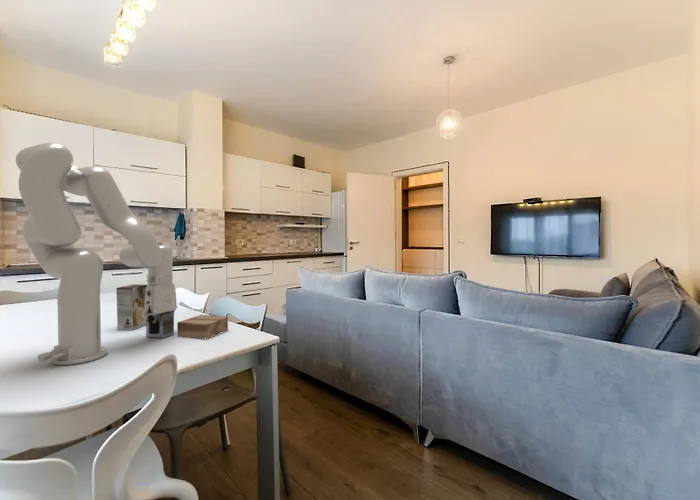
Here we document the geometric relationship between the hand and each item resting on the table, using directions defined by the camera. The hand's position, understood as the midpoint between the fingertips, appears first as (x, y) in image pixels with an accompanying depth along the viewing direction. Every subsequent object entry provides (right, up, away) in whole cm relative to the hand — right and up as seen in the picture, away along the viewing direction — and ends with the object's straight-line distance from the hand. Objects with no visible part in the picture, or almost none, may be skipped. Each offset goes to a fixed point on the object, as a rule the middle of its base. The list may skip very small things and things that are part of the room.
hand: (160, 331), depth 118 cm
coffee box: (-17, -1, +11) cm, 20 cm away
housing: (0, -2, 0) cm, 2 cm away
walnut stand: (+14, -2, +4) cm, 14 cm away
